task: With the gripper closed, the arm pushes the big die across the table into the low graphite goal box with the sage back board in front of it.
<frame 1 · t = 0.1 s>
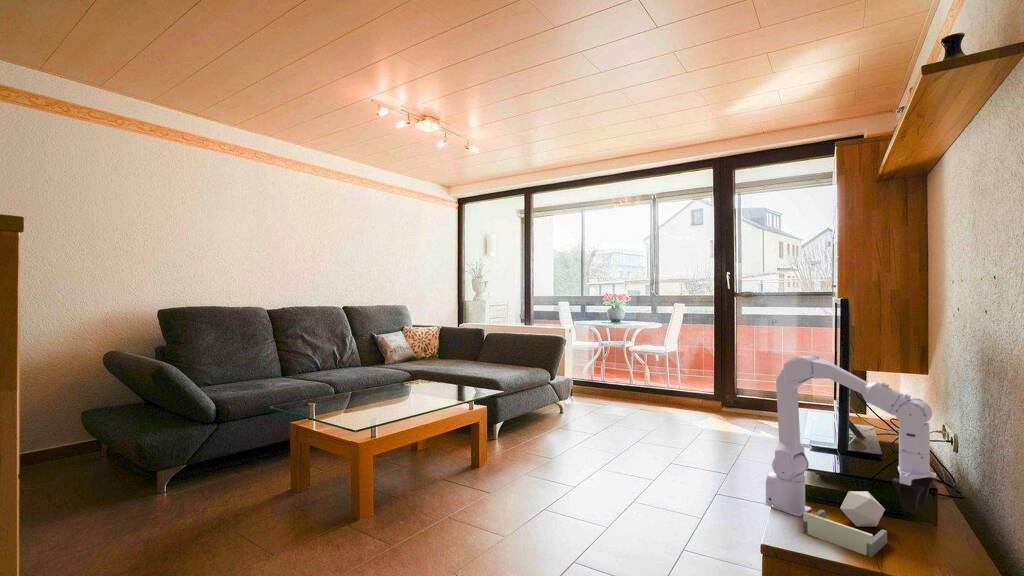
hand: (914, 507, 116), 10 cm above the tv stand, fingers open, 7 cm apart
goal: (844, 537, 121), on the tv stand
die: (862, 524, 129), on the tv stand
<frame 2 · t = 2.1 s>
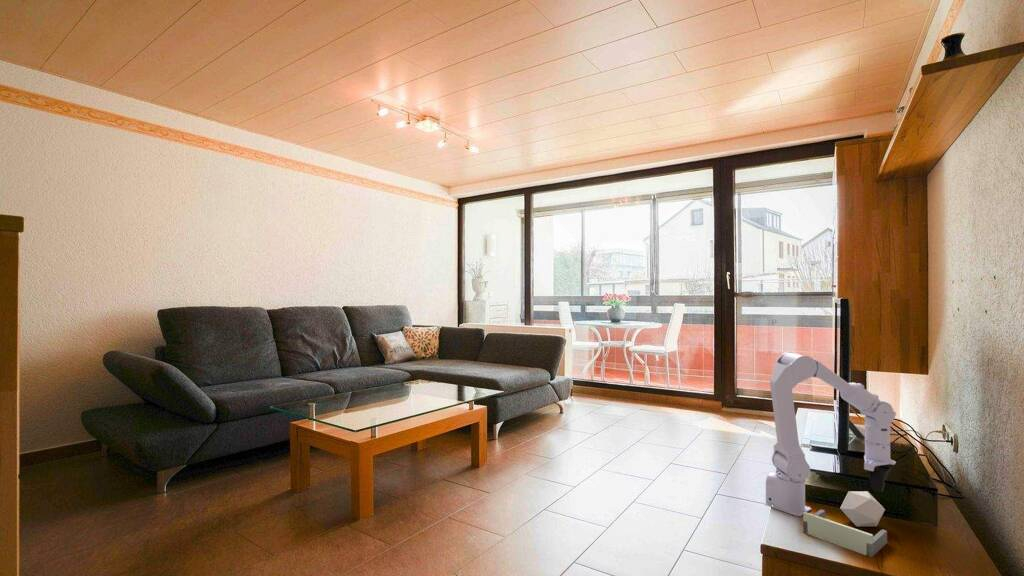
hand: (877, 490, 136), 6 cm above the tv stand, fingers closed
nothing on the tv stand moved.
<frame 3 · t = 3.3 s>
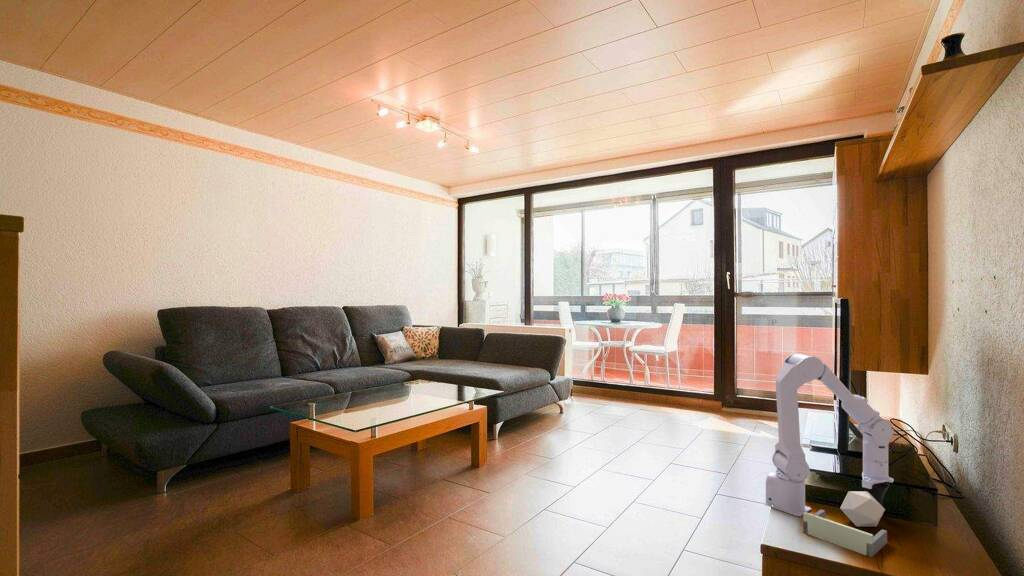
hand: (875, 508, 135), 1 cm above the tv stand, fingers closed
nothing on the tv stand moved.
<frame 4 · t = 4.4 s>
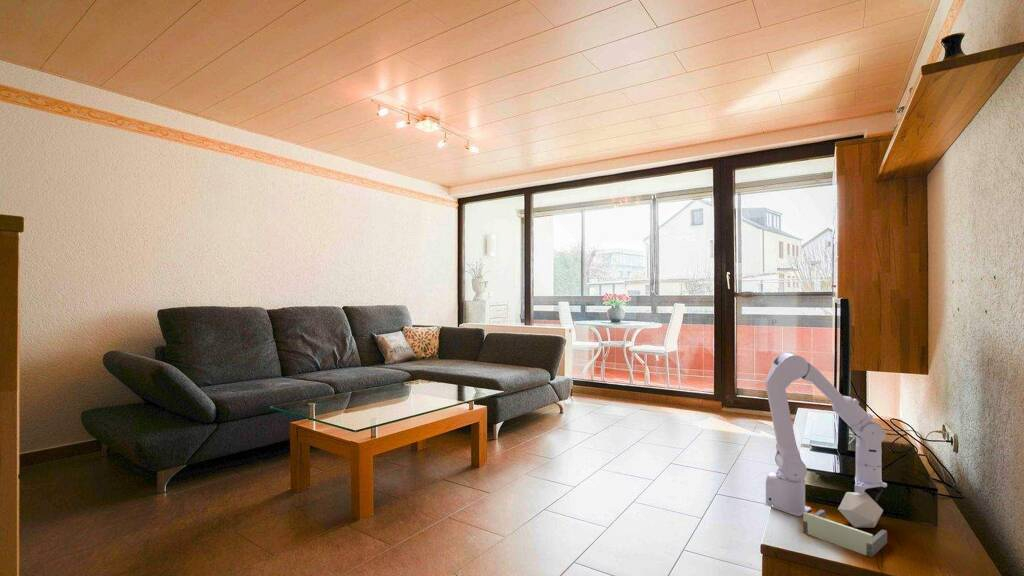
hand: (868, 513, 132), 1 cm above the tv stand, fingers closed
die: (860, 525, 128), on the tv stand, touching gripper
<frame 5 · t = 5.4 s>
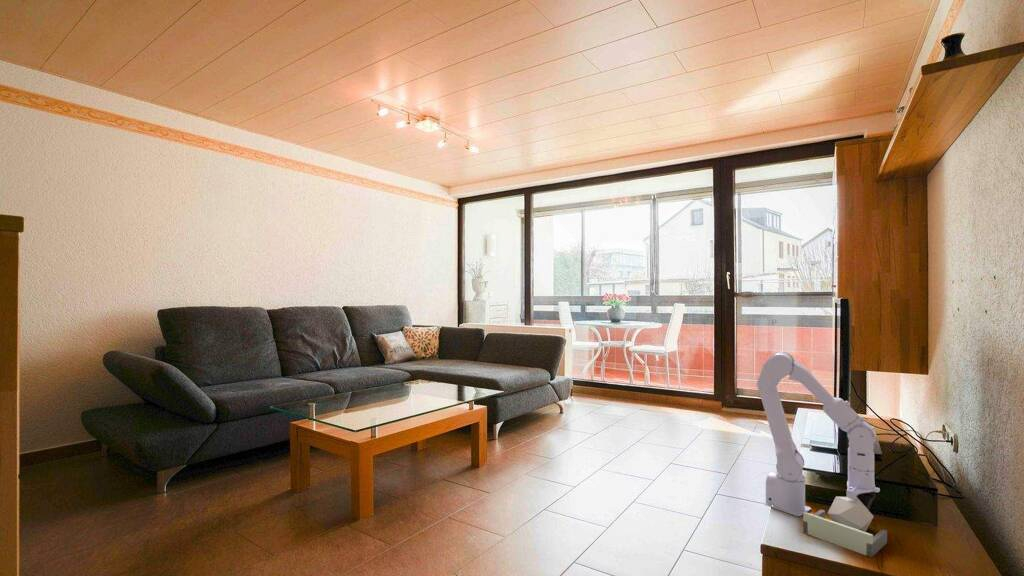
hand: (860, 519, 128), 1 cm above the tv stand, fingers closed
die: (850, 530, 125), on the tv stand, touching gripper
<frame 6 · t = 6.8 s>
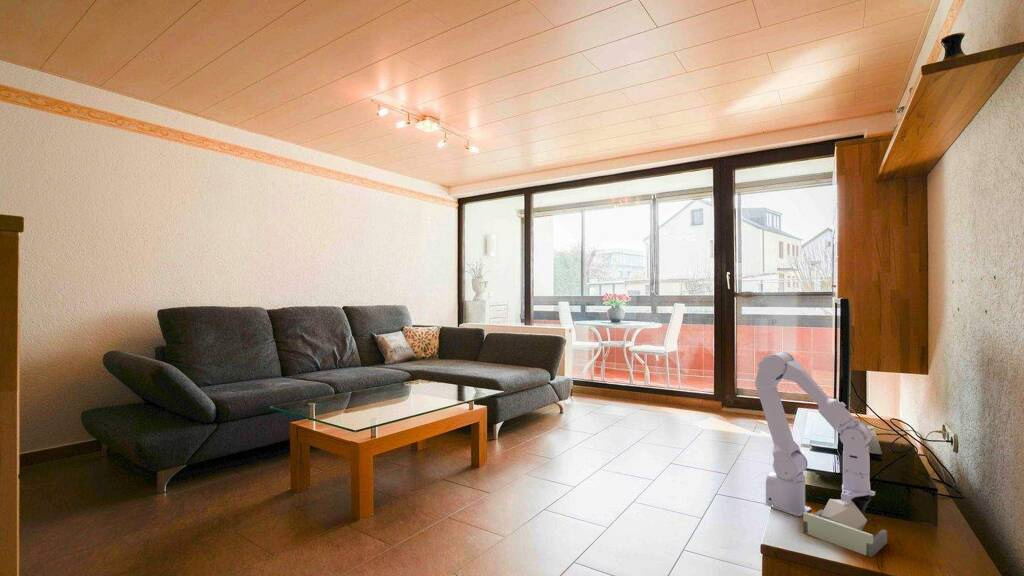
hand: (856, 523, 126), 1 cm above the tv stand, fingers closed
die: (843, 534, 124), on the tv stand, touching gripper
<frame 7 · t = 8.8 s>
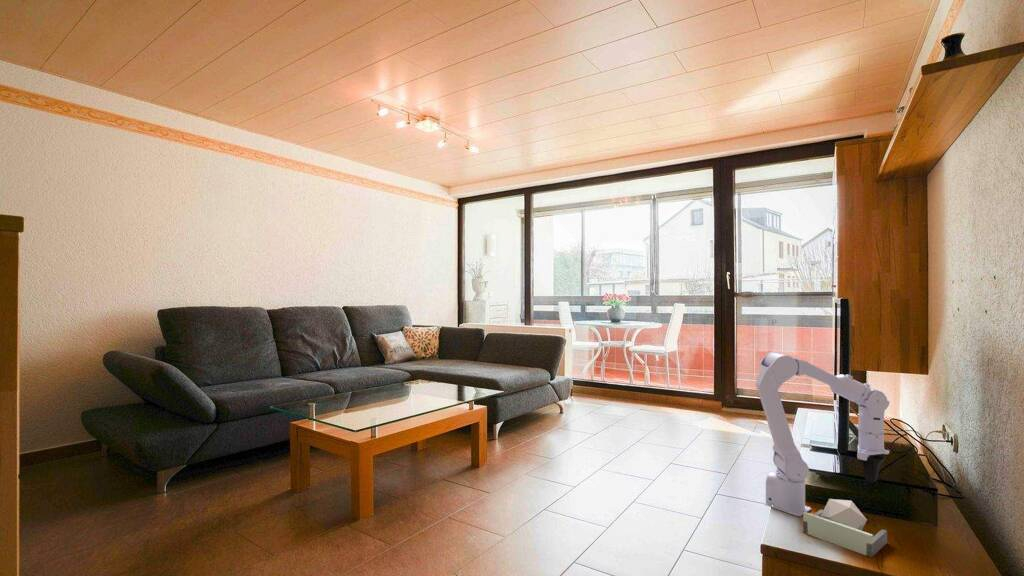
hand: (871, 480, 134), 9 cm above the tv stand, fingers closed
die: (843, 534, 124), on the tv stand
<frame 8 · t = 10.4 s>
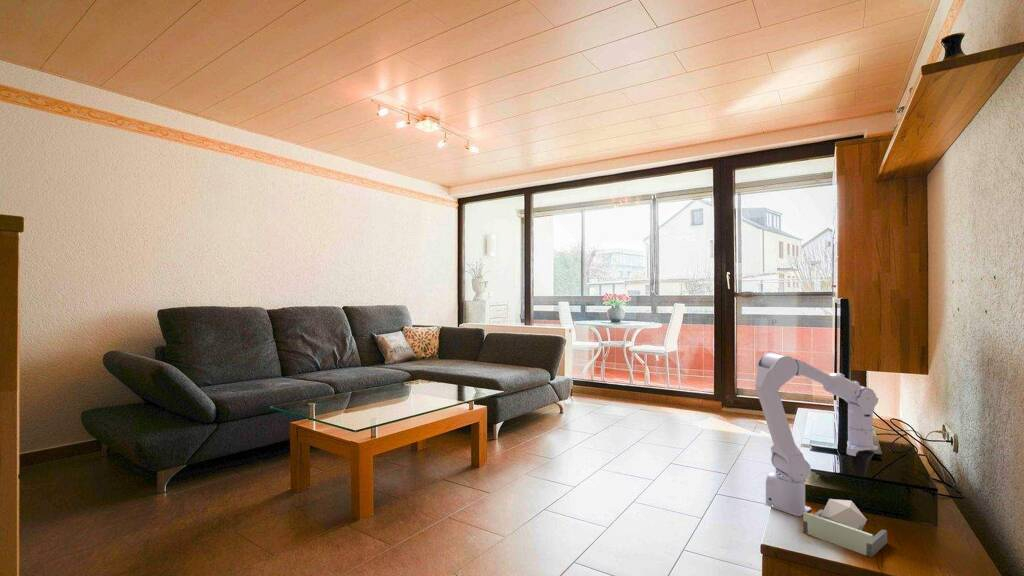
hand: (860, 475, 138), 9 cm above the tv stand, fingers closed
nothing on the tv stand moved.
at the end: die inside the target area on the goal (2.9 cm from its centre), point 0.0 cm above the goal's base; die moved 10.3 cm from its start; the gripper is holding nothing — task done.
